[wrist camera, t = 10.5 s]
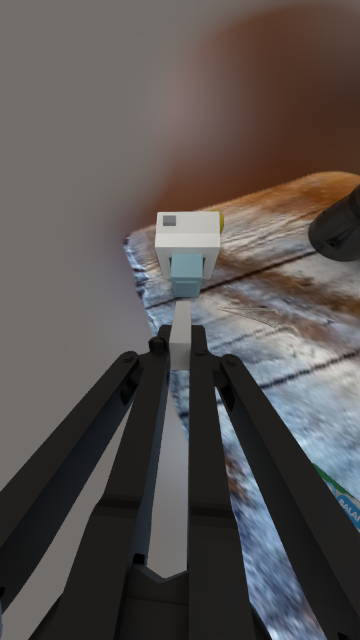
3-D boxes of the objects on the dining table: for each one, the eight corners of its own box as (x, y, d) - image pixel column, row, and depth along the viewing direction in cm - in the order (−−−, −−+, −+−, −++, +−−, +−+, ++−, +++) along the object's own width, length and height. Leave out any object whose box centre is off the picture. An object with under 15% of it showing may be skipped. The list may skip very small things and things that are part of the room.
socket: (209, 252, 41) (220, 207, 29) (210, 279, 39) (221, 243, 27) (165, 252, 42) (157, 208, 29) (164, 279, 40) (154, 243, 27)
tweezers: (277, 310, 37) (281, 307, 35) (275, 328, 36) (280, 327, 34) (206, 299, 40) (206, 296, 38) (203, 316, 39) (203, 314, 37)
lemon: (212, 226, 43) (218, 198, 35) (223, 240, 42) (232, 214, 34) (196, 236, 42) (198, 209, 35) (207, 250, 41) (212, 225, 34)
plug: (198, 269, 40) (202, 242, 30) (198, 298, 38) (202, 279, 28) (176, 269, 40) (172, 242, 31) (174, 298, 38) (170, 279, 29)
